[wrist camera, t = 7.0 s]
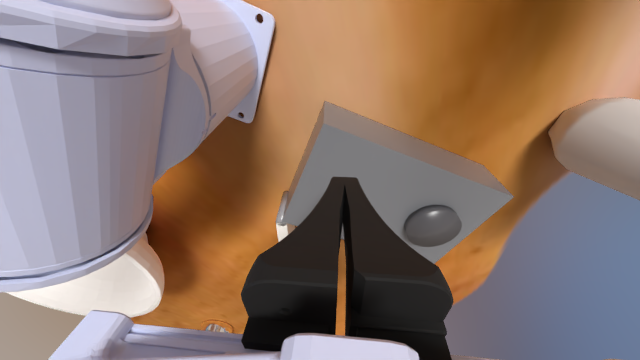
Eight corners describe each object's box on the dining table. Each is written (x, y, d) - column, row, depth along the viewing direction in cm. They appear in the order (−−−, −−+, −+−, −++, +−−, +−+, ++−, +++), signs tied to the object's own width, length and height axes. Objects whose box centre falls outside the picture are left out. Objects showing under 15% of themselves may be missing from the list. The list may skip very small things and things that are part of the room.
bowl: (203, 199, 26) (168, 251, 20) (181, 282, 36) (155, 331, 31) (-16, 122, 21) (-138, 163, 16) (33, 243, 32) (-29, 292, 26)
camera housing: (288, 190, 24) (280, 228, 20) (324, 100, 19) (323, 128, 14) (418, 231, 27) (434, 272, 23) (483, 165, 22) (520, 203, 17)
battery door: (273, 190, 24) (264, 218, 21) (292, 190, 24) (286, 219, 21) (284, 273, 33) (280, 302, 30) (298, 274, 33) (295, 302, 30)
